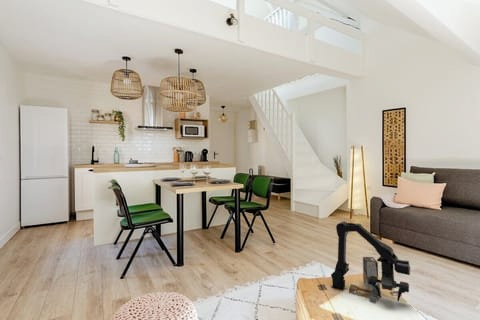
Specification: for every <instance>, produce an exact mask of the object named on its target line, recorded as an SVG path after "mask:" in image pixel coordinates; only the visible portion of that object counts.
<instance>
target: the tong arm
mask: <svg viewBox="0 0 480 320" xmlns="http://www.w3.org/2000/svg"><path fill="white" fill-rule="evenodd" d="M349 289H353V290H356V291H355V295H356V296H360V297H363V298H368V299H370V294H371V293H368V292H364V291H360V290H357V288H355V287H352V286H350V285H349V287H348V290H349ZM379 300H380V297H379V295H377V297H376V301H379Z"/></svg>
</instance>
